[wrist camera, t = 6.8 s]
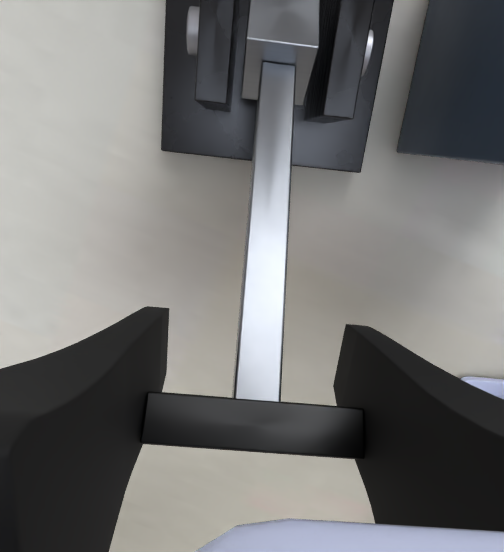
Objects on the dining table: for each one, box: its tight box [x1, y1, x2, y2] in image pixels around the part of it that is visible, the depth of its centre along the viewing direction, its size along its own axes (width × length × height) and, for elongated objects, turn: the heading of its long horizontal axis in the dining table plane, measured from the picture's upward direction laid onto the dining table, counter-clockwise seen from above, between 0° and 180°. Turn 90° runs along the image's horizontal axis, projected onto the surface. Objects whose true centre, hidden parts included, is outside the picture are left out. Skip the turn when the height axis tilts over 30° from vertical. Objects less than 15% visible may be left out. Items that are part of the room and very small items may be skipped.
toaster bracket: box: [161, 0, 394, 173], centre depth 14 cm, size 8×8×5 cm
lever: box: [140, 0, 365, 460], centre depth 12 cm, size 14×5×2 cm
